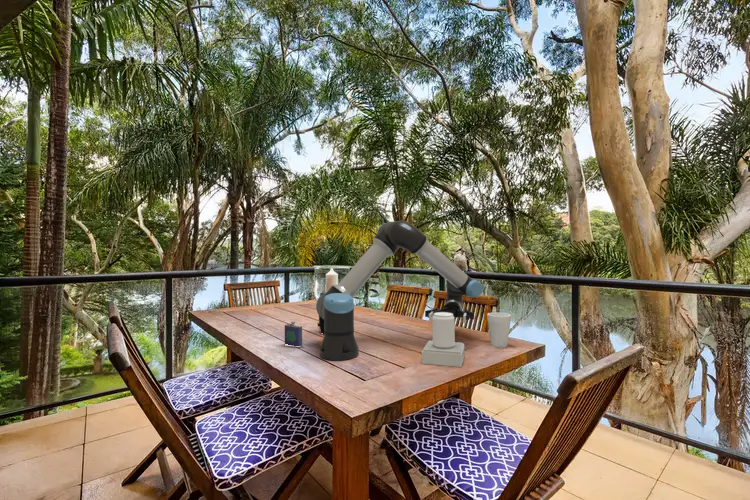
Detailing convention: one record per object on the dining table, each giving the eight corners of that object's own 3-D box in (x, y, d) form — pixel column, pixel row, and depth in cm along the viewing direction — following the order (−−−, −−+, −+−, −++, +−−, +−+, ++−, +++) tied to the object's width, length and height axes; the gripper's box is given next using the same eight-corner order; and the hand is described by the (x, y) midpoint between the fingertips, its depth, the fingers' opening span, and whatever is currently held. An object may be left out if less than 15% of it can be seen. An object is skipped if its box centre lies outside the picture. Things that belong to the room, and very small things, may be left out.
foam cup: (486, 347, 153) (486, 315, 153) (488, 341, 162) (488, 312, 162) (510, 349, 150) (510, 317, 149) (511, 343, 158) (511, 313, 158)
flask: (303, 346, 157) (303, 321, 157) (299, 348, 155) (298, 323, 154) (287, 344, 162) (286, 319, 162) (282, 346, 159) (282, 321, 159)
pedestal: (421, 363, 133) (421, 349, 133) (428, 352, 147) (428, 340, 147) (461, 367, 129) (461, 352, 129) (464, 355, 143) (464, 342, 142)
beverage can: (454, 349, 133) (454, 316, 133) (432, 348, 135) (431, 315, 135) (454, 343, 141) (454, 312, 141) (433, 342, 143) (432, 311, 143)
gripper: (481, 318, 164) (479, 329, 144) (425, 316, 172) (416, 326, 152) (480, 302, 164) (479, 310, 144) (425, 300, 172) (415, 307, 151)
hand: (446, 318), depth 148 cm, fingers open, 13 cm apart
